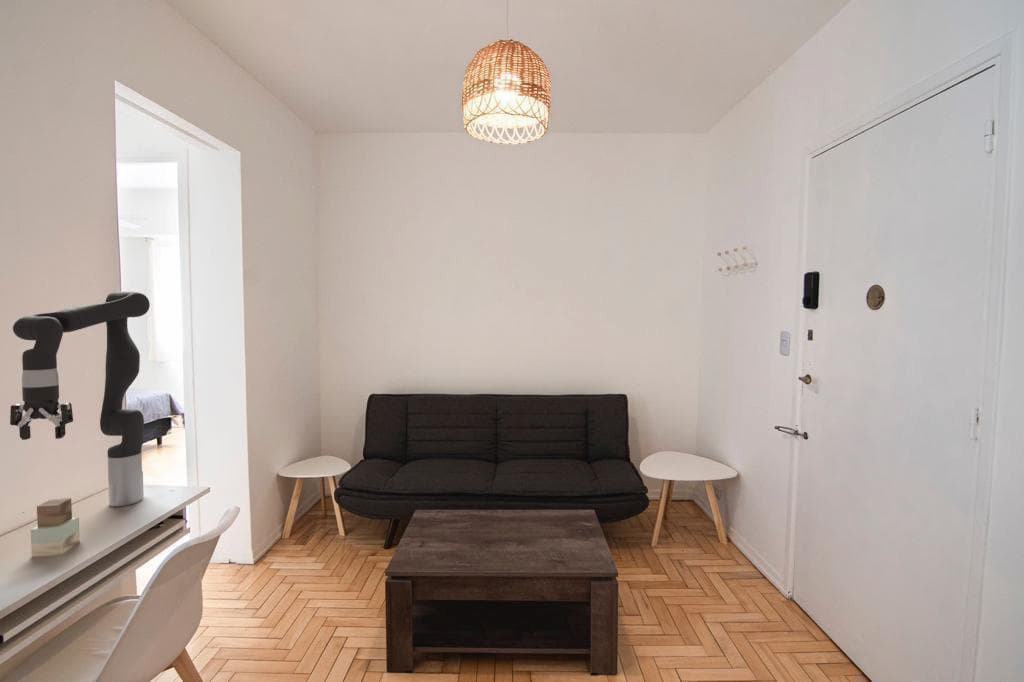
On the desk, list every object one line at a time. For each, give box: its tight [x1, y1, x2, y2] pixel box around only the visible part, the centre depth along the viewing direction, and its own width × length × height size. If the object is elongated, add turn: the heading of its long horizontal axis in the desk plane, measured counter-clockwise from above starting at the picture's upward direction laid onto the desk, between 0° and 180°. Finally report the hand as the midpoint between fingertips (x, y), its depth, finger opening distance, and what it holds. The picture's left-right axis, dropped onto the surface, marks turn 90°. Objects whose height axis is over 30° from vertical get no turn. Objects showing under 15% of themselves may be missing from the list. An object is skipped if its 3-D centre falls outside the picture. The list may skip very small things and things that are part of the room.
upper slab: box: [30, 516, 80, 545], centre depth 130 cm, size 7×7×4 cm
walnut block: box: [36, 497, 73, 528], centre depth 130 cm, size 5×5×6 cm
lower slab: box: [30, 530, 81, 558], centre depth 130 cm, size 7×7×4 cm
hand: (42, 438), depth 135 cm, fingers open, 8 cm apart
